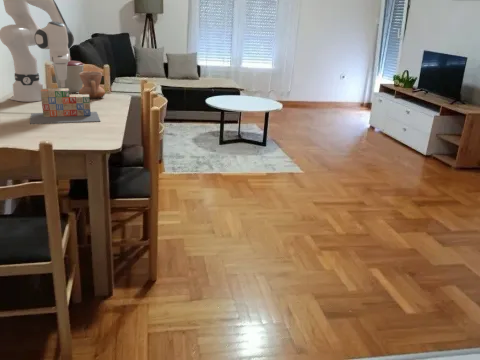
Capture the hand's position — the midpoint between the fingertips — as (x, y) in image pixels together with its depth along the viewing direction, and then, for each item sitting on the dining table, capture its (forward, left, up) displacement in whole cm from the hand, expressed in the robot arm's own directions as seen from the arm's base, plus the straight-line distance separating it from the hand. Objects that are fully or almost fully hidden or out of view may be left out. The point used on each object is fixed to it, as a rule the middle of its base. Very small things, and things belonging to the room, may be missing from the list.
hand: (62, 86), depth 224 cm
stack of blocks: (+9, +1, -12) cm, 15 cm away
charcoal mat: (+14, 0, -12) cm, 18 cm away
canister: (-54, +5, -13) cm, 56 cm away
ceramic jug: (-35, +16, -13) cm, 40 cm away
